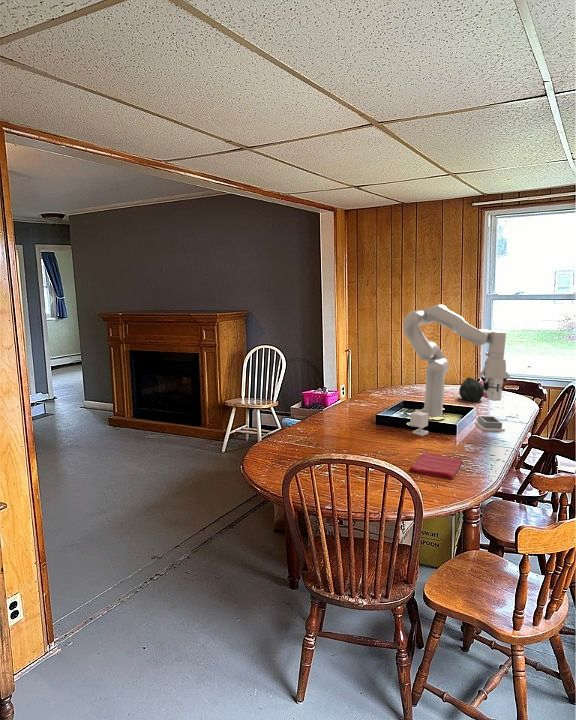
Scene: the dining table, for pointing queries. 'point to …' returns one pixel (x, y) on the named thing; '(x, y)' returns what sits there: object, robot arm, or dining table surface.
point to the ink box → (494, 389)
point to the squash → (471, 390)
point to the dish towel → (436, 466)
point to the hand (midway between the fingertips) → (492, 390)
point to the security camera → (419, 422)
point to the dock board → (489, 423)
